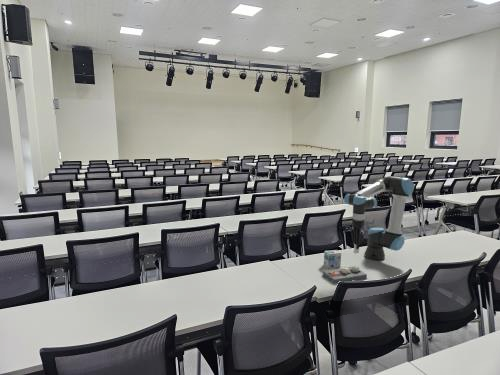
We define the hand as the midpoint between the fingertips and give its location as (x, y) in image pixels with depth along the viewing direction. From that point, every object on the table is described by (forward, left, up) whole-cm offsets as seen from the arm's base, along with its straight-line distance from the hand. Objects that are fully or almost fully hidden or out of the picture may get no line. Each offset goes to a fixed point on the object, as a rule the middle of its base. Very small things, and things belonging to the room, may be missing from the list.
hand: (356, 252), depth 221 cm
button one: (0, 0, -13) cm, 13 cm away
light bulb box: (+6, -19, -16) cm, 26 cm away
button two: (+8, 0, -13) cm, 15 cm away
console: (+8, 0, -16) cm, 18 cm away
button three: (+17, 0, -15) cm, 22 cm away
